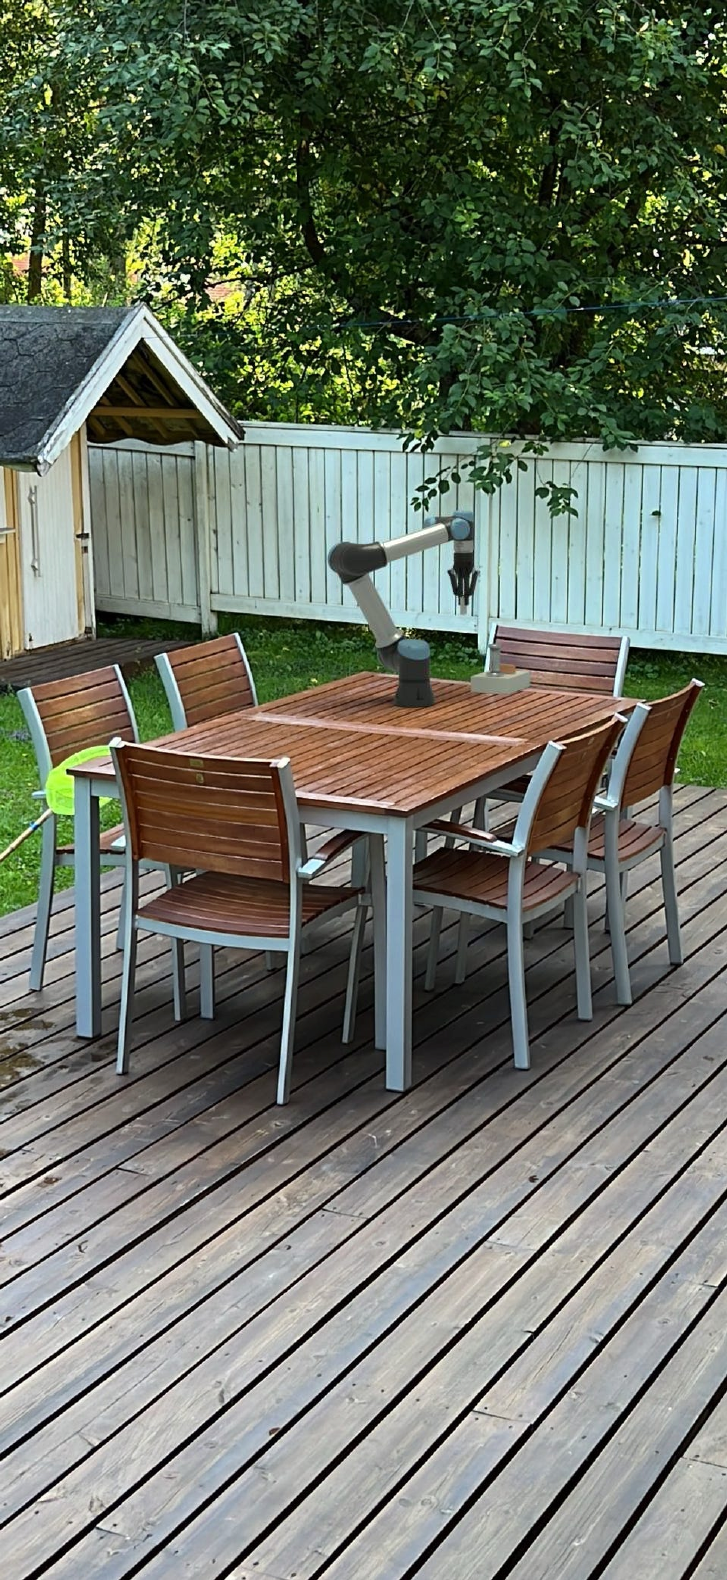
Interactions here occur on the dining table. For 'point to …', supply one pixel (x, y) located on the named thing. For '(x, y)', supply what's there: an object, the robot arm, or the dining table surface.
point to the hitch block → (500, 682)
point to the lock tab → (507, 668)
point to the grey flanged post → (494, 661)
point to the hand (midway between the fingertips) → (463, 614)
